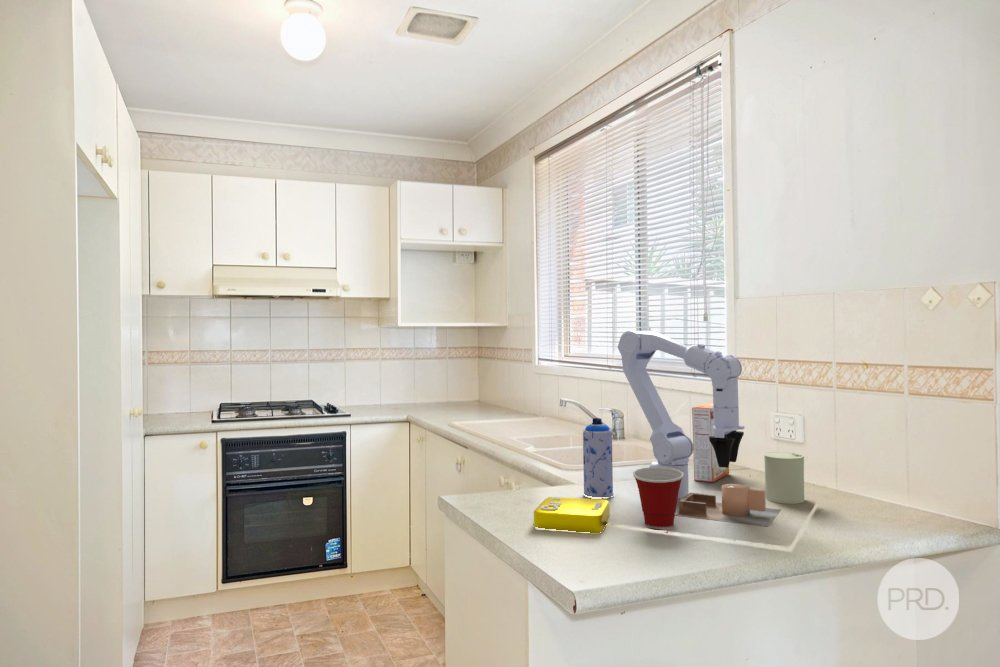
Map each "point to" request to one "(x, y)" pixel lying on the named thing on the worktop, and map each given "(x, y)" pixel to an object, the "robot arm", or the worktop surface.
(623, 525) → the worktop surface
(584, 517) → the element tile
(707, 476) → the cracker box
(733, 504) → the capsule with rectangular tab
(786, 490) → the can
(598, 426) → the aerosol can
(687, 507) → the cradle
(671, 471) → the plastic cup
